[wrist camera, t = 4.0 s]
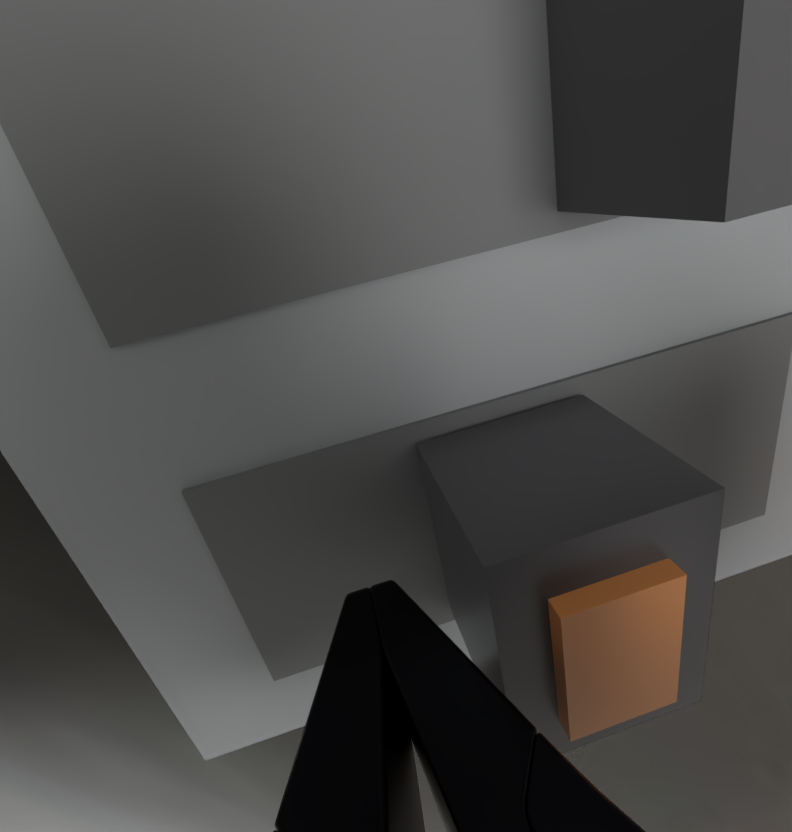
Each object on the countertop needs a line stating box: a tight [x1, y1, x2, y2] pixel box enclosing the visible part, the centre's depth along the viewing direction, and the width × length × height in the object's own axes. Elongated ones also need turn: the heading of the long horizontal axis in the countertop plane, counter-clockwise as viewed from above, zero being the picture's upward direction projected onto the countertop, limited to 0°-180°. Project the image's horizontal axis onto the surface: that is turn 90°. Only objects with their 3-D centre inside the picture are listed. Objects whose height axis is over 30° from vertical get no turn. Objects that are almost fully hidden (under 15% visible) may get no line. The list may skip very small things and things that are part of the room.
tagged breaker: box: [416, 395, 726, 754], centre depth 8 cm, size 3×4×3 cm
